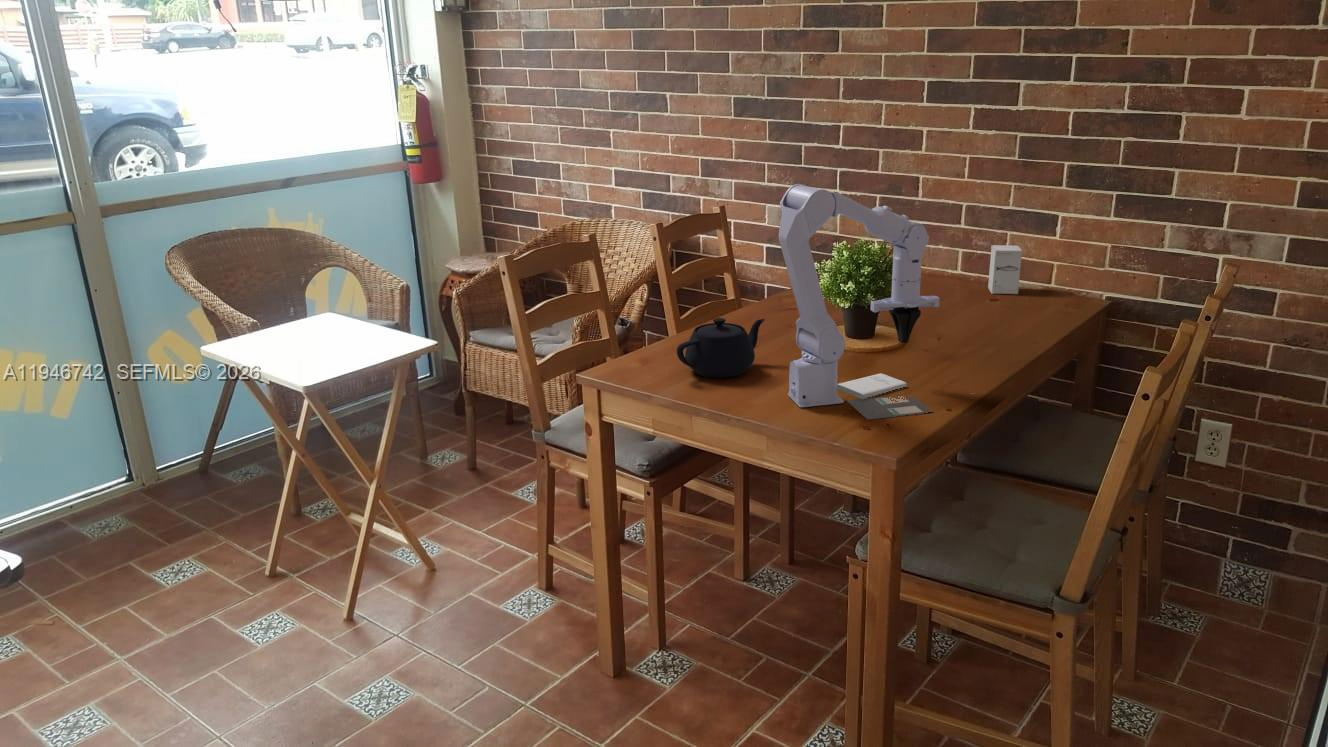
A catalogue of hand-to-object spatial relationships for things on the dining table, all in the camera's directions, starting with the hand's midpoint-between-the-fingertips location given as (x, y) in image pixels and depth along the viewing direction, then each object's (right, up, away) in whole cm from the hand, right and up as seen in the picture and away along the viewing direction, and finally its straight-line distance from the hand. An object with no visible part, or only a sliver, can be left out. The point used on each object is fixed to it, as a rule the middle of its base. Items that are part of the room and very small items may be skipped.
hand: (903, 341), depth 216 cm
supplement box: (+45, +16, +74) cm, 88 cm away
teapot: (-37, -6, +15) cm, 41 cm away
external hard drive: (-6, -10, +1) cm, 12 cm away
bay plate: (-5, -13, -10) cm, 17 cm away
